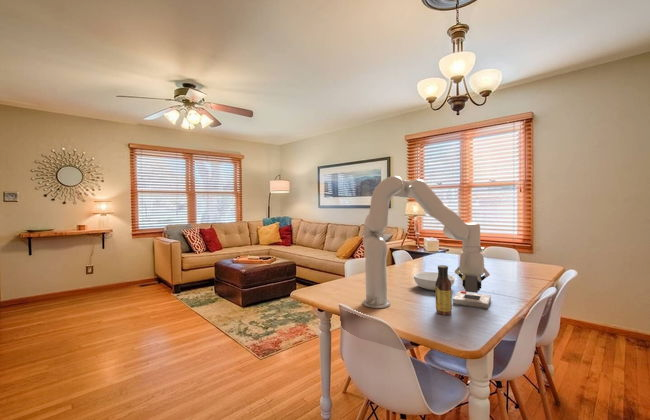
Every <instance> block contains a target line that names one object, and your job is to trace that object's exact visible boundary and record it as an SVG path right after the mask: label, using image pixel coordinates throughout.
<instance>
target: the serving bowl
mask: <svg viewBox="0 0 650 420" xmlns="http://www.w3.org/2000/svg"><path fill="white" fill-rule="evenodd" d="M437 278H438V272H435V271H434V272H433V271H425V272H424V271H423V272H417V273H414V275H413V280H414V282H415V284H416V285H417V286H419V287H420V288H423V289H425V290H428V291H435V284H436V281H437ZM448 278H449V280H450V282H451V287H452V286H453V285H454V283H455V279H456V278H455V277H454V276H453V275H451V274H448Z"/></svg>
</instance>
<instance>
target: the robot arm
mask: <svg viewBox="0 0 650 420" xmlns="http://www.w3.org/2000/svg"><path fill="white" fill-rule="evenodd" d="M393 197H398V198H410V199H411V198H412V199H414V200H415V201H416V203H418V204H419V206H420V207H421V208H422V209H423V211H424V212H425V213H426V214H427V215H429V216H430V218H431V217H432V218H433V219H434V220H437V221H438V222H439V223H441V224H442V225H443V229H442V232H443V234H444V236H445V237H447V238H448V239H452V240H456V241H461V242H462V251H460V254H459V266H458V267H457V268H456V269H455V270H454V273H455V274H456V275H457V276H458V277H459V278H460V279H461V280H462V287H463V289H464V290H465V276H466V274H469V275H477V278H478V282H477V287H478V292H479V291H480V290H481V289H482V281H484V280H485V279H486V278H488V277H490V273H489V271H488V270H487V269H486V268H485V261H484V259H485V258H484V254H483V252H484V251H485V247H482V246H481V225H480V223H477V222H464V220H463V219H462V218H461V217H460V215H458V214H457V213H456V212H455V211H454V210H452V208H451V207H449V206H448V205H447V204H446V203H444V202H443V201H442V199H440V197H438V195H437V194H436V193H435V192H434V191H433V190H432V188H431V187H430V186H429V185H428V184H427V183H426V181H424V180H423V179H419V178H417V179H412V180H408V179H407V180H406V179H402V178H401V177H400V176H398V175H391V176H388V177H387V178H384V179H383V180H382V181H379V183H378V185H376V187H375V188H374V190H373V192H372V195H371V198H370V206H369V212H368V215H366V217H365V220H364V227H363V237H362V238H363V239H362V245H363V249H364V250H365V267H364V268H365V299H363V300H362V305H363V306H364V307H367V308H372V309H384V308H388V307H390V306H391V301H390V299H388V296H387V295H388V293H387V292H388V288H387V285H388V283H387V257H388V256H387V255H388V245H387V242H386V241H385V239H384V237H383V236H384V232H385V230H387V227H388V224H389V223H388V222H389V220H388V219H389V210H390V209H389V208H390V203H391V200H392V198H393Z"/></svg>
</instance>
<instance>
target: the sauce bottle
mask: <svg viewBox="0 0 650 420" xmlns="http://www.w3.org/2000/svg"><path fill="white" fill-rule="evenodd" d="M448 271H449V266H448V265H444V264H443V265H437V273H438V278H437V281H436V284H435V293H434V294H435V309H436V310H435V311H436V313H437V314H438V315H443V316H449V315H451V314H452V310H453V309H452V308H453V307H452V306H453V298H452V286H451V282H450V280H449V278H448V275H449V274H448V273H449V272H448Z"/></svg>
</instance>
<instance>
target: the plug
mask: <svg viewBox="0 0 650 420" xmlns="http://www.w3.org/2000/svg"><path fill="white" fill-rule="evenodd" d="M477 282H478V278H477V275H469V274H466V276H465V289H464V291H466V292H467V293H475V294H478V293H479V291H478V287H477Z"/></svg>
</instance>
